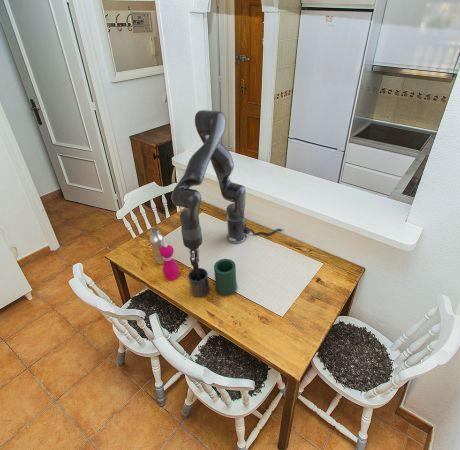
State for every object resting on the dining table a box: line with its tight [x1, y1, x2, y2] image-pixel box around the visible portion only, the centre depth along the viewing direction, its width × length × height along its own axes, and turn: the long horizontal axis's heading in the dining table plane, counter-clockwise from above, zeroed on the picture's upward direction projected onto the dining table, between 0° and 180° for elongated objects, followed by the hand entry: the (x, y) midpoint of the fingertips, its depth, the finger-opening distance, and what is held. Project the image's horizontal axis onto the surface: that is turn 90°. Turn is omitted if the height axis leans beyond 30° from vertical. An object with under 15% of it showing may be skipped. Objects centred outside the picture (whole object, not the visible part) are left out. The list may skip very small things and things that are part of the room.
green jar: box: [213, 258, 237, 297], centre depth 140 cm, size 9×9×14 cm
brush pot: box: [187, 267, 210, 298], centre depth 141 cm, size 8×8×10 cm
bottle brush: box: [195, 255, 203, 281], centre depth 136 cm, size 4×4×22 cm
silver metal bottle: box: [148, 227, 165, 265], centre depth 153 cm, size 6×7×20 cm
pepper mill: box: [160, 243, 180, 282], centre depth 145 cm, size 7×7×20 cm
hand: (196, 265), depth 134 cm, fingers open, 4 cm apart
